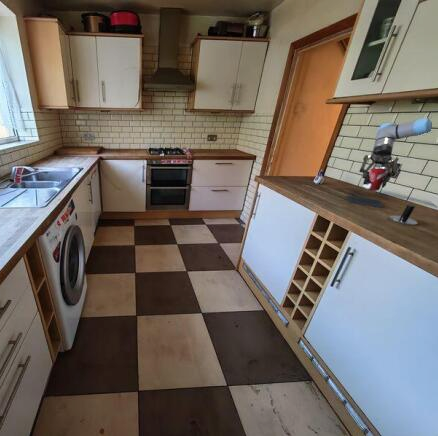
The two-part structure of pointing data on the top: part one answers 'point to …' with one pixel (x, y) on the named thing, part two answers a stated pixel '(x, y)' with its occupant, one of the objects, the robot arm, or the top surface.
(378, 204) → the slate mat
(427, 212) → the top surface
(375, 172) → the soda can
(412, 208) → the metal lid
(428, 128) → the robot arm
